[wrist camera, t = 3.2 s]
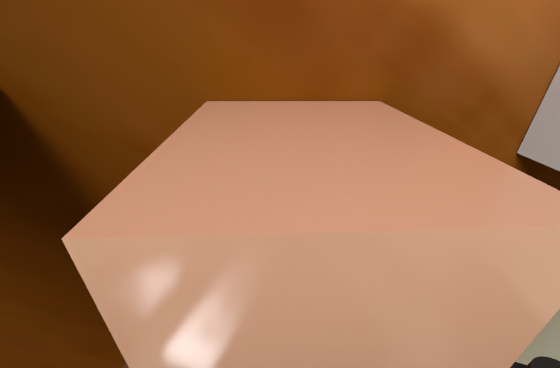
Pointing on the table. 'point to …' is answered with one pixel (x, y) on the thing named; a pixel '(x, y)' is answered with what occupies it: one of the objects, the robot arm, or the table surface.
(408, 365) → the peach rectangular block
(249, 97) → the table surface
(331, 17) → the table surface
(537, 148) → the white rectangular eraser
